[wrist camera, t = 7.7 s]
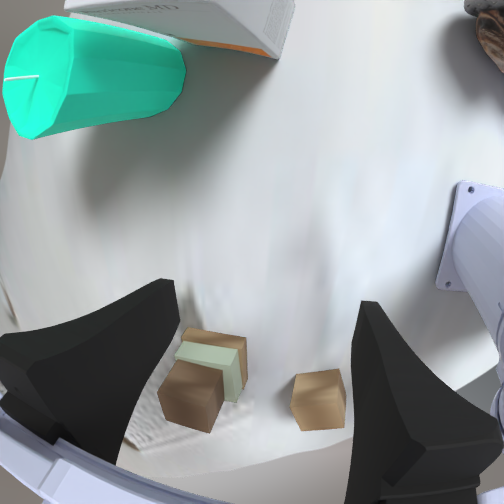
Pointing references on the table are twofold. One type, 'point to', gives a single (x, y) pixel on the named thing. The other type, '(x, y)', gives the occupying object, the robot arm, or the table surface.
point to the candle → (87, 76)
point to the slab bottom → (221, 345)
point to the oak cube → (319, 400)
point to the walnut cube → (192, 395)
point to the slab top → (215, 364)
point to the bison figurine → (489, 27)
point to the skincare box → (203, 20)
